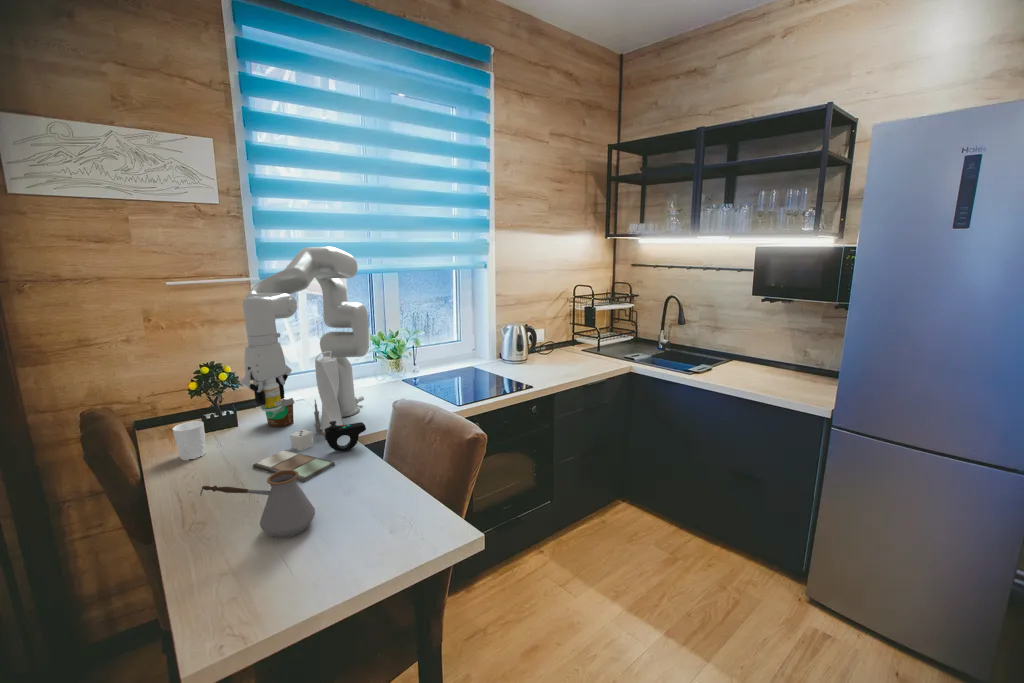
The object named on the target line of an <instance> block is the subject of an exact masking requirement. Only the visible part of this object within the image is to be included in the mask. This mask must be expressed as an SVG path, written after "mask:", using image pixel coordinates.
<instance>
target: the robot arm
mask: <svg viewBox="0 0 1024 683" xmlns="http://www.w3.org/2000/svg"><path fill="white" fill-rule="evenodd" d="M358 267H359V266H358V262H357V260H356V258H355V257H354V256H353V255H352V254H350V253H348V252H346V251H344V250H342V249H339V248H337V247H334V246H309V247H304V248H302V249H300V250H299V252H297V254H296V255H295V256H294V257H293V258H292V260H291V261H290V262H289V264H288V265H287V266H286V267H285V268H284V269H283V270H280V271H278V272H275V273H274V274H272V275H270V276H267V277H266V278H264V279H262V280H260V281H258V282H257V283H256V284H255V285H253V288H251V289H250V291H249V292H248V293H247V294H246V296H245V298H244V299H242V309H243V317H244V318H243V319H244V324H245V331H246V338H247V345H248V346H245V349H244V357H243V358H244V374H245V375H244V377H243V379H242V380H241V381H240V383H241V384H242V385H243V386H245V387H247V388H248V389H250V390H251V391H252V392H254V400H255V402H256V405H260V406H261V405H265V404H266V402H265V395H264V391H262V386H263V381H266V380H269V379H271V378H276V381H275V382H277V383H278V384H279V389H280V396H281V399H286V398H285V388H284V385H285V384H286V381H287V379H288V378H289V375H290V374H291V373H292V368H290V367H289V366H288V365H287V364H286V359H285V354H284V352H283V348H282V345H281V343H280V342H279V340H278V339H279V338H281V334H280V332H277V325H276V324H277V323H276V320H278V319H288V318H290V317H292V316H294V314H296V311H297V309H298V303H297V300H296V298H295V297H294V296H293V295H292V294H295V293H298V292H301V291H303V290H307V288H309V286H310V284H311V283H312V282H313V280H314V279H315V280H316V281H317V283H318V284H319V287H320V288H321V291H322V312H323V314H322V315H323V322H324V324H325V325H326V326H327V327H328V328H333V329H335V328H336V329H352V331H329V332H328V331H327V332H326V333H323V335H322V336H321V338H320V340H319V347H320V351H321V353H322V352H325V351H331V352H332V353H331V358H336V360H337V367H338V375H339V388H338V396H337V400H338V404H339V408H340V413H341V418H345V417H350V416H353V415H356V414H358V413H359V412H360V410H361V406H359V405H358V404H359V403H360V402H363V401H364V400H365V397H364V396H363V395H361V396H360V395H359V396H358V397H356V396H355V387H354V386H355V384H354V374H353V365H352V364H351V362H350V360H349V358H362V357H364V356H366V355H367V354H368V352H369V348H370V347H369V346H370V339H369V336H370V334H369V333H370V332H369V331H370V330H369V314H368V310H367V307H366V306H365V305H364V304H363V303H360V302H348V295H347V294H348V292H347V288H346V286H345V283H344V282H343V281H342V280H341V279H352V278H354V277H355V276H356V275H357V273H358ZM321 355H322V357H329V356H330V352H327V353H324V354H321ZM251 381H252V382H251Z"/></svg>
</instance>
